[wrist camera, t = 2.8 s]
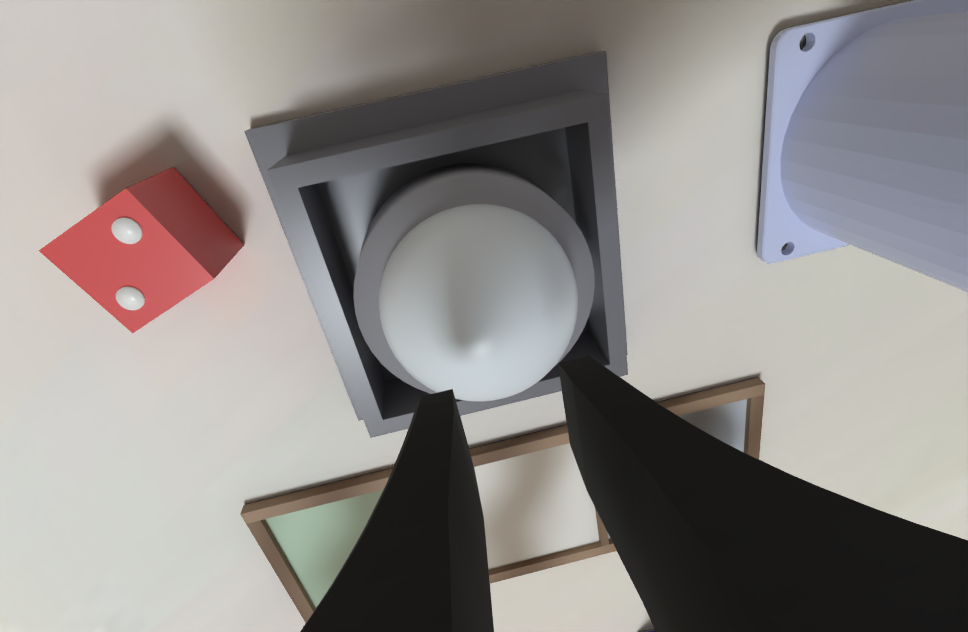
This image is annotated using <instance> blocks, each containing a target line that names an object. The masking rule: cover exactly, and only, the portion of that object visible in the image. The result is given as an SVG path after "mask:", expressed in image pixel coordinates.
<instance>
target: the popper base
mask: <svg viewBox="0 0 968 632" xmlns="http://www.w3.org/2000/svg"><path fill="white" fill-rule="evenodd" d="M244 132H245V134H246V137H247V139H248V142H249V144H250V147H251V149H252V152H253V154H254V157H255V159H256V162H257V164H258V167H259V170H260V172H261V175H262V177H263V180H264V182H265V185H266V187H267V190H268V192H269V195H270V197H271V200H272V202H273V205H274V208H275V210H276V213H277V215H278V218H279V220H280V223H281V225H282V228H283V230H284V233H285V235H286V238H287V240H288V243H289V246H290V248H291V251H292V253H293V256H294V258H295V261H296V263H297V266H298V268H299V271H300V273H301V276H302V278H303V281H304V284H305V286H306V289H307V291H308V294H309V296H310V299H311V301H312V304H313V306H314V309H315V311H316V314H317V316H318V319H319V322H320V324H321V327H322V329H323V332H324V334H325V337H326V339H327V342H328V344H329V347H330V349H331V352H332V354H333V357H334V360H335V362H336V365H337V367H338V370H339V372H340V375H341V377H342V380H343V382H344V385H345V387H346V390H347V392H348V395H349V398H350V400H351V403H352V405H353V408H354V410H355V413H356V415H357V418H358V420H364V422H365V425H366V427H367V430H368V432H369V435H370V438H372V437H376V436H380V435H384V434H388V433H392V432H396V431H400V430H404V429H408V428H409V426H410V423H411V420H412V417H413V414H414V411H415V407H416V404H417V402H418V400H419V399H420V398H421V397H422V396H426V395H430V393H427V392H425V391H422V390H419V389H417V388H415V387H413V386H411V385H409V384H407V383H405V382H403V381H402V380H401V379H399V378H398V377H396V376H395V375H394V374H392V373H391V372H390V371H389V370H388V369H387V368H386V367H384V366H383V365H382V364H381V363H380V361H379V360H378V359H377V358H376V356H375V355H374V354H373V353H372V351H371V350H370V348H369V346H368V345H367V343H366V342H365V340H364V337H363V335H362V333H361V330H360V328H359V325H358V321H357V318H356V314H355V306H354V281H355V275H356V269H357V265H358V261H359V256H360V252H361V248H362V244H363V241H364V238H365V235H366V232H367V230H368V228H369V226H370V224H371V222H372V220H373V218H374V216H375V215H376V213H377V212H378V210H379V209H380V208H381V206H382V205H383V204H384V203H385V202H386V201H387V199H388V198H389V197H390V196H391V195H392V194H393V193H394V192H396V191H397V190H398V189H399V188H400V187H402V186H403V185H404V184H406V183H407V182H409V181H411V180H412V179H414V178H415V177H417V176H419V175H422V174H424V173H426V172H428V171H430V170H434V169H437V168H440V167H444V166H448V165H455V164H461V163H479V164H488V165H494V166H498V167H502V168H506V169H508V170H511V171H513V172H516V173H518V174H520V175H522V176H524V177H525V178H527V179H529V180H531V181H532V182H534V183H535V184H536V185H537V186H539V187H540V188H541V189H542V190H544V191H545V192H546V193H547V194H548V195H549V196H550V197H551V198H552V199H554V200H555V201H556V202H557V203H558V204H559V205H560V206H561V207H562V208H563V209H564V210H565V211H566V212H567V213H568V214H569V215H570V216H571V217H572V219H573V220H574V222H575V223H576V224H577V226H578V227H579V229H580V230H581V232H582V234H583V236H584V238H585V240H586V242H587V244H588V247H589V251H590V254H591V257H592V262H593V268H594V281H595V287H594V296H593V302H592V307H591V311H590V314H589V317H588V319H587V322H586V325H585V327H584V329H583V331H582V333H581V334H580V336H579V338H578V340H577V341H576V343H575V344H574V346H573V347H572V348H571V350H570V351H569V352H568V353H567V354H566V356H565V357H564V358H563V359H562V360H561V361H560V362H559V363H561V362H565V361H569V360H573V359H578V358H582V357H586V356H590V357H592V358H593V359H595V360H596V361H598V362H599V363H601V364H602V365H603V366H605V367H606V368H608V369H609V370H610V371H612V372H613V373H615V374H616V375H617V376H619V377H620V376H624V375H628V369H627V342H626V328H625V313H624V299H623V285H622V271H621V257H620V243H619V229H618V215H617V201H616V187H615V173H614V158H613V144H612V130H611V116H610V102H609V88H608V74H607V60H606V51H600V52H595V53H590V54H586V55H581V56H577V57H572V58H568V59H563V60H559V61H554V62H550V63H545V64H541V65H536V66H532V67H527V68H523V69H518V70H514V71H509V72H505V73H500V74H496V75H491V76H487V77H482V78H477V79H473V80H468V81H464V82H459V83H455V84H450V85H446V86H441V87H437V88H432V89H428V90H423V91H419V92H414V93H410V94H405V95H401V96H396V97H392V98H387V99H383V100H378V101H374V102H369V103H365V104H360V105H356V106H351V107H346V108H342V109H337V110H333V111H328V112H324V113H319V114H315V115H310V116H306V117H301V118H297V119H292V120H288V121H283V122H279V123H274V124H270V125H265V126H261V127H256V128H252V129H248V130H246V131H244ZM559 391H562V387H561V381H560V374H559V367H558V364H557V365H556V366H554V367H553V368H552V369H551V370H550V372H549V373H547V374H546V375H545V376H544V377H543V378H542V379H541V380H540V381H538V382H537V383H535V384H534V385H533V386H531V387H529V388H528V389H526V390H524V391H522V392H520V393H517V394H515V395H513V396H509V397H506V398H503V399H498V400H493V401H466V400H459V399H455V400H456V403H457V407H458V410H459V414H460V416H461V415H465V414H469V413H473V412H477V411H482V410H486V409H490V408H494V407H498V406H502V405H506V404H510V403H514V402H518V401H522V400H526V399H530V398H534V397H539V396H543V395H547V394H551V393H555V392H559Z"/></svg>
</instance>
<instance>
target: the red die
mask: <svg viewBox="0 0 968 632" xmlns="http://www.w3.org/2000/svg"><path fill="white" fill-rule="evenodd" d="M243 246H244V244H243V243H242V242H241V241H240V240H239V238H238V237H237V236H236V235H235V234H234V233H233V232H232V231H231V230H230V229H229V227H228V226H227V225H226V224H225V223H224V222H223V221H222V220H221V219H220V218H219V216H218V215H217V214H216V213H215V212H214V211H213V210H212V209H211V208H210V206H209V205H208V204H207V203H206V202H205V201H204V200H203V199H202V198H201V197H200V195H199V194H198V193H197V192H196V191H195V190H194V189H193V188H192V187H191V185H190V184H189V183H188V182H187V181H186V180H185V179H184V178H183V177H182V176H181V174H180V173H179V172H178V171H177V170H176V169H175V168H174V167H172V168H170V169H168V170H166V171H163V172H161V173H159V174H157V175H154V176H152V177H150V178H148V179H145V180H143V181H141V182H139V183H136V184H134V185H132V186H130V187H127V188H125V189H124V190H123V191H121V192H120V193H118V194H117V195H116V196H114V197H113V198H111V199H110V200H109V201H107V202H106V203H105V204H103V205H102V206H100V207H99V208H98V209H96V210H95V211H93V212H92V213H91V214H89V215H88V216H86V217H85V218H84V219H82V220H81V221H79V222H78V223H77V224H75V225H74V226H72V227H71V228H70V229H68V230H67V231H66V232H64V233H63V234H61V235H60V236H59V237H57V238H56V239H54V240H53V241H52V242H50V243H49V244H47V245H46V246H45V247H43V248H42V249H40V250H39V251H40V252H41V253H42V254H43V255H44V256H45V257H46V258H48V259H49V260H50V261H51V262H52V263H53V264H54V265H56V266H57V267H58V268H59V269H60V270H61V271H62V272H64V273H65V274H66V275H67V276H68V277H69V278H70V279H71V280H73V281H74V282H75V283H76V284H77V285H78V286H79V287H81V288H82V289H83V290H84V291H85V292H86V293H87V294H89V295H90V296H91V297H92V298H93V299H94V300H95V301H97V302H98V303H99V304H100V305H101V306H102V307H103V308H105V309H106V310H107V311H108V312H109V313H110V314H111V315H113V316H114V317H115V318H116V319H117V320H118V321H119V322H121V323H122V324H123V325H124V326H125V327H126V328H127V329H129V330H130V331H131V332H132V333H134V332H135V331H137V330H138V329H140V328H141V327H143V326H144V325H146V324H147V323H149V322H150V321H152V320H153V319H155V318H156V317H158V316H159V315H161V314H162V313H164V312H165V311H167V310H168V309H170V308H171V307H173V306H174V305H176V304H177V303H179V302H180V301H182V300H183V299H185V298H186V297H188V296H189V295H191V294H192V293H194V292H195V291H197V290H198V289H200V288H201V287H203V286H204V285H206V284H207V283H208V282H210V281H211V280H213V279H214V278H215V277H216V276H217V275H218V274H219V273H220V272H221V270H222V269H223V268H224V267H225V266H226V265H227V264H228V263H229V261H230V260H231V259H232V258H233V257H234V256H235V255H236V254H237V252H238V251H239V250H240V249H241V248H242V247H243Z"/></svg>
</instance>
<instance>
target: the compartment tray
mask: <svg viewBox="0 0 968 632" xmlns="http://www.w3.org/2000/svg"><path fill="white" fill-rule="evenodd" d="M764 391H765V383H764V382H763V381H761V380H760V379H759V378H754V379H750V380H746V381H742V382H738V383H734V384H730V385H725V386H721V387H717V388H713V389H709V390H705V391H701V392H697V393H693V394H689V395H685V396H681V397H677V398H673V399H669V400H665V401H661V402H657V403H659V404H660V405H662V406H663V407H665V408H666V409H668V410H669V411H671V412H673V413H674V414H676V415H677V416H679V417H681V418H682V419H684V420H686V421H687V422H689V423H690V424H692V425H694V426H696V427H697V428H699V429H701V430H703V431H705V432H706V433H708V434H710V435H712V436H713V437H715V438H717V439H719V440H721V441H722V442H724V443H726V444H728V445H730V446H732V447H734V448H736V449H738V450H740V451H742V452H744V453H746V454H748V455H750V456H752V457H754V458H756V459H758V460H759V451H760V439H761V427H762V415H763V403H764ZM469 451H470V454H471V458H472V462H473V465H474V469H475V474H476V480H477V485H478V490H479V495H480V500H481V505H482V511H483V516H484V525H485V536H486V547H487V559H488V570H489V582H490V583H494V582H497V581H501V580H505V579H509V578H513V577H517V576H521V575H525V574H528V573H532V572H536V571H540V570H544V569H548V568H552V567H555V566H559V565H563V564H567V563H571V562H575V561H579V560H583V559H586V558H590V557H594V556H598V555H602V554H606V553H610V552H614V551H617V550H616V548H615V546H614V544H613V542H612V540H611V538H610V536H609V534H608V532H607V530H606V528H605V526H604V524H603V522H602V520H601V518H600V516H599V514H598V512H597V510H596V508H595V506H594V504H593V502H592V500H591V498H590V496H589V494H588V492H587V490H586V487H585V484H584V482H583V479H582V476H581V474H580V471H579V468H578V465H577V463H576V460H575V457H574V454H573V452H572V449H571V446H570V441H569V434H568V428H567V425H564V426H560V427H556V428H552V429H548V430H544V431H540V432H536V433H532V434H528V435H524V436H520V437H516V438H512V439H508V440H504V441H500V442H496V443H492V444H488V445H484V446H480V447H476V448H472V449H469ZM392 469H393V468H391V469H387V470H383V471H379V472H375V473H371V474H367V475H363V476H359V477H355V478H351V479H347V480H343V481H339V482H335V483H331V484H327V485H323V486H319V487H315V488H310V489H306V490H302V491H298V492H294V493H290V494H286V495H282V496H278V497H274V498H270V499H266V500H262V501H258V502H254V503H250V504H246V505H244V506H243V509H242V512H241V516H242V517H243V519H244V521H245V522H246V524H247V526H248V527H249V529H250V531H251V532H252V534H253V536H254V537H255V539H256V541H257V542H258V544H259V546H260V547H261V549H262V551H263V552H264V554H265V556H266V557H267V559H268V561H269V562H270V564H271V566H272V567H273V569H274V571H275V572H276V574H277V576H278V577H279V579H280V581H281V582H282V584H283V586H284V587H285V589H286V591H287V592H288V594H289V596H290V597H291V599H292V601H293V602H294V604H295V606H296V607H297V609H298V611H299V612H300V614H301V616H302V617H303V619H304V621H305V622H306V623H307V621H308V620H309V618H310V617H311V615H312V614H313V612H314V611H315V609H316V608H317V606H318V605H319V603H320V601H321V600H322V598H323V597H324V595H325V594H326V592H327V591H328V589H329V588H330V586H331V585H332V583H333V581H334V580H335V578H336V577H337V575H338V573H339V572H340V570H341V568H342V567H343V565H344V563H345V562H346V560H347V558H348V557H349V555H350V553H351V551H352V550H353V548H354V546H355V544H356V542H357V541H358V539H359V537H360V535H361V533H362V532H363V530H364V528H365V526H366V524H367V522H368V520H369V518H370V516H371V514H372V512H373V510H374V508H375V506H376V504H377V502H378V500H379V498H380V496H381V494H382V492H383V490H384V488H385V485H386V483H387V481H388V479H389V476H390V474H391V472H392Z"/></svg>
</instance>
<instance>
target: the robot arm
mask: <svg viewBox="0 0 968 632" xmlns="http://www.w3.org/2000/svg"><path fill="white" fill-rule="evenodd" d="M804 35H805V36H806V40H807V41H806V45H805V47H804V48H803V49H802V50H801V49H800V46H799V43H800V40H801V38H802V37H803V36H804ZM786 243H788V244H787V247H786V248H785V249H784V250H783V251H781V249H782V247H783V246H784V244H786ZM848 245H853V246H855V247H857V248H860V249H862V250H865V251H867V252H870V253H872V254H875V255H877V256H880V257H882V258H885V259H887V260H890V261H892V262H894V263H897V264H899V265H902V266H904V267H907V268H909V269H912V270H914V271H917V272H919V273H922V274H924V275H927V276H929V277H931V278H934V279H936V280H939V281H941V282H944V283H946V284H949V285H951V286H954V287H956V288H959V289H961V290H963V291H966V292H968V0H912V1H907V2H903V3H898V4H894V5H889V6H885V7H880V8H876V9H871V10H867V11H862V12H858V13H853V14H849V15H844V16H840V17H835V18H831V19H826V20H822V21H817V22H813V23H808V24H804V25H799V26H795V27H790V28H786V29H784V30H782V31H780V32H779V33H778V34H777V35H776V36H775V37H774V39H773V41H772V43H771V47H770V58H769V73H768V89H767V105H766V120H765V136H764V151H763V167H762V182H761V198H760V214H759V229H758V245H757V255H758V257H759V258H760V260H762V261H764V262H766V263H769V264H771V263H777V262H781V261H786V260H790V259H794V258H798V257H802V256H806V255H811V254H815V253H819V252H823V251H827V250H831V249H836V248H840V247H844V246H848ZM558 367H559V374H560V381H561V387H562V394H563V401H564V408H565V414H566V421H567V428H568V434H569V441H570V446H571V449H572V452H573V454H574V457H575V460H576V463H577V465H578V468H579V471H580V474H581V476H582V479H583V482H584V484H585V487H586V490H587V492H588V494H589V496H590V498H591V500H592V502H593V504H594V506H595V508H596V510H597V512H598V514H599V516H600V518H601V520H602V522H603V524H604V526H605V528H606V530H607V532H608V534H609V536H610V538H611V540H612V542H613V544H614V546H615V548H616V550H617V552H618V554H619V556H620V558H621V560H622V562H623V564H624V566H625V568H626V570H627V572H628V574H629V576H630V578H631V580H632V582H633V584H634V586H635V588H636V590H637V592H638V594H639V596H640V598H641V600H642V602H643V604H644V606H645V608H646V610H647V613H648V615H649V617H650V619H651V621H652V624H653V626H654V628H655V630H656V632H968V540H965V539H962V538H959V537H956V536H952V535H949V534H946V533H943V532H940V531H937V530H934V529H931V528H928V527H925V526H922V525H919V524H916V523H913V522H910V521H908V520H905V519H902V518H899V517H897V516H894V515H891V514H888V513H885V512H883V511H880V510H877V509H874V508H872V507H869V506H866V505H864V504H861V503H859V502H856V501H854V500H851V499H849V498H846V497H844V496H841V495H839V494H836V493H834V492H831V491H829V490H826V489H823V488H821V487H818V486H816V485H814V484H811V483H809V482H807V481H804V480H802V479H800V478H797V477H795V476H793V475H790V474H788V473H786V472H784V471H782V470H780V469H778V468H775V467H773V466H771V465H769V464H767V463H765V462H763V461H761V460H758V459H756V458H754V457H752V456H750V455H748V454H746V453H744V452H742V451H740V450H738V449H736V448H734V447H732V446H730V445H728V444H726V443H724V442H722V441H721V440H719V439H717V438H715V437H713V436H712V435H710V434H708V433H706V432H705V431H703V430H701V429H699V428H697V427H696V426H694V425H692V424H690V423H689V422H687V421H686V420H684V419H682V418H681V417H679V416H677V415H676V414H674V413H673V412H671V411H669V410H668V409H666V408H665V407H663V406H662V405H660V404H659V403H657V402H655V401H654V400H652V399H651V398H649V397H648V396H646V395H645V394H643V393H642V392H640V391H639V390H637V389H636V388H634V387H633V386H632V385H630V384H629V383H627V382H626V381H624V380H623V379H622V378H620V377H619V376H617V375H616V374H615V373H613V372H612V371H610V370H609V369H608V368H606V367H605V366H603V365H602V364H601V363H599V362H598V361H596V360H595V359H593V358H592V357H590V356H586V357H582V358H578V359H573V360H569V361H565V362H561V363H558ZM301 632H494V628H493V617H492V605H491V594H490V582H489V570H488V559H487V547H486V536H485V525H484V516H483V511H482V505H481V500H480V495H479V490H478V485H477V480H476V474H475V469H474V465H473V462H472V458H471V454H470V451H469V447H468V443H467V440H466V436H465V432H464V429H463V425H462V421H461V418H460V414H459V410H458V407H457V403H456V400H455V396H454V392H453V389H450V390H446V391H442V392H438V393H434V394H430V395H426V396H422V397H421V398H420V399H419V400H418V402H417V404H416V407H415V411H414V414H413V417H412V420H411V423H410V426H409V429H408V432H407V435H406V437H405V440H404V443H403V445H402V448H401V450H400V453H399V455H398V458H397V460H396V462H395V465H394V467H393V469H392V472H391V474H390V476H389V479H388V481H387V483H386V485H385V488H384V490H383V492H382V494H381V496H380V498H379V500H378V502H377V504H376V506H375V508H374V510H373V512H372V514H371V516H370V518H369V520H368V522H367V524H366V526H365V528H364V530H363V532H362V533H361V535H360V537H359V539H358V541H357V542H356V544H355V546H354V548H353V550H352V551H351V553H350V555H349V557H348V558H347V560H346V562H345V563H344V565H343V567H342V568H341V570H340V572H339V573H338V575H337V577H336V578H335V580H334V581H333V583H332V585H331V586H330V588H329V589H328V591H327V592H326V594H325V595H324V597H323V598H322V600H321V601H320V603H319V605H318V606H317V608H316V609H315V611H314V612H313V614H312V615H311V617H310V618H309V620H308V621H307V623H306V624H305V626H304V627H303V629H302V630H301Z"/></svg>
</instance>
